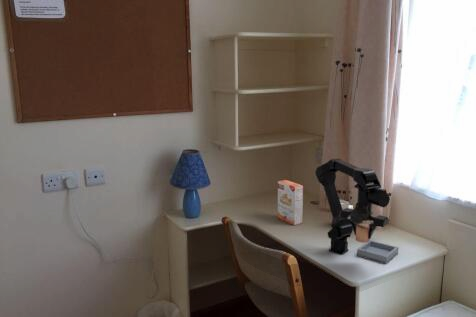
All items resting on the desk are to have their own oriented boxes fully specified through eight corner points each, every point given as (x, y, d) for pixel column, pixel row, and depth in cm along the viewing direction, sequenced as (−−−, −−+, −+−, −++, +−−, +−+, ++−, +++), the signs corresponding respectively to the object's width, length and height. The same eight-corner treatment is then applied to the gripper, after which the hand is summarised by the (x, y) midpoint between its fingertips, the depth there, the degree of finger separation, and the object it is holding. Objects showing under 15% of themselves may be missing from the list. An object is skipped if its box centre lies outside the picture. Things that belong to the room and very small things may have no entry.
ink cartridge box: (353, 227, 220) (354, 200, 217) (348, 230, 217) (349, 202, 214) (338, 223, 226) (339, 196, 223) (333, 226, 223) (334, 198, 220)
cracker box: (276, 218, 235) (277, 180, 231) (285, 216, 238) (286, 179, 234) (293, 226, 223) (294, 186, 219) (302, 223, 227) (303, 184, 222)
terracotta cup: (353, 240, 179) (353, 226, 177) (359, 236, 183) (360, 222, 181) (365, 243, 175) (366, 229, 174) (371, 239, 179) (372, 225, 178)
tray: (356, 255, 188) (357, 248, 188) (369, 246, 198) (370, 239, 197) (386, 263, 180) (386, 257, 179) (398, 253, 190) (398, 247, 189)
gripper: (334, 200, 176) (332, 237, 179) (378, 210, 163) (376, 249, 167) (347, 194, 184) (345, 229, 187) (390, 203, 172) (387, 240, 175)
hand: (362, 236), depth 179 cm, fingers closed on terracotta cup, 5 cm apart
